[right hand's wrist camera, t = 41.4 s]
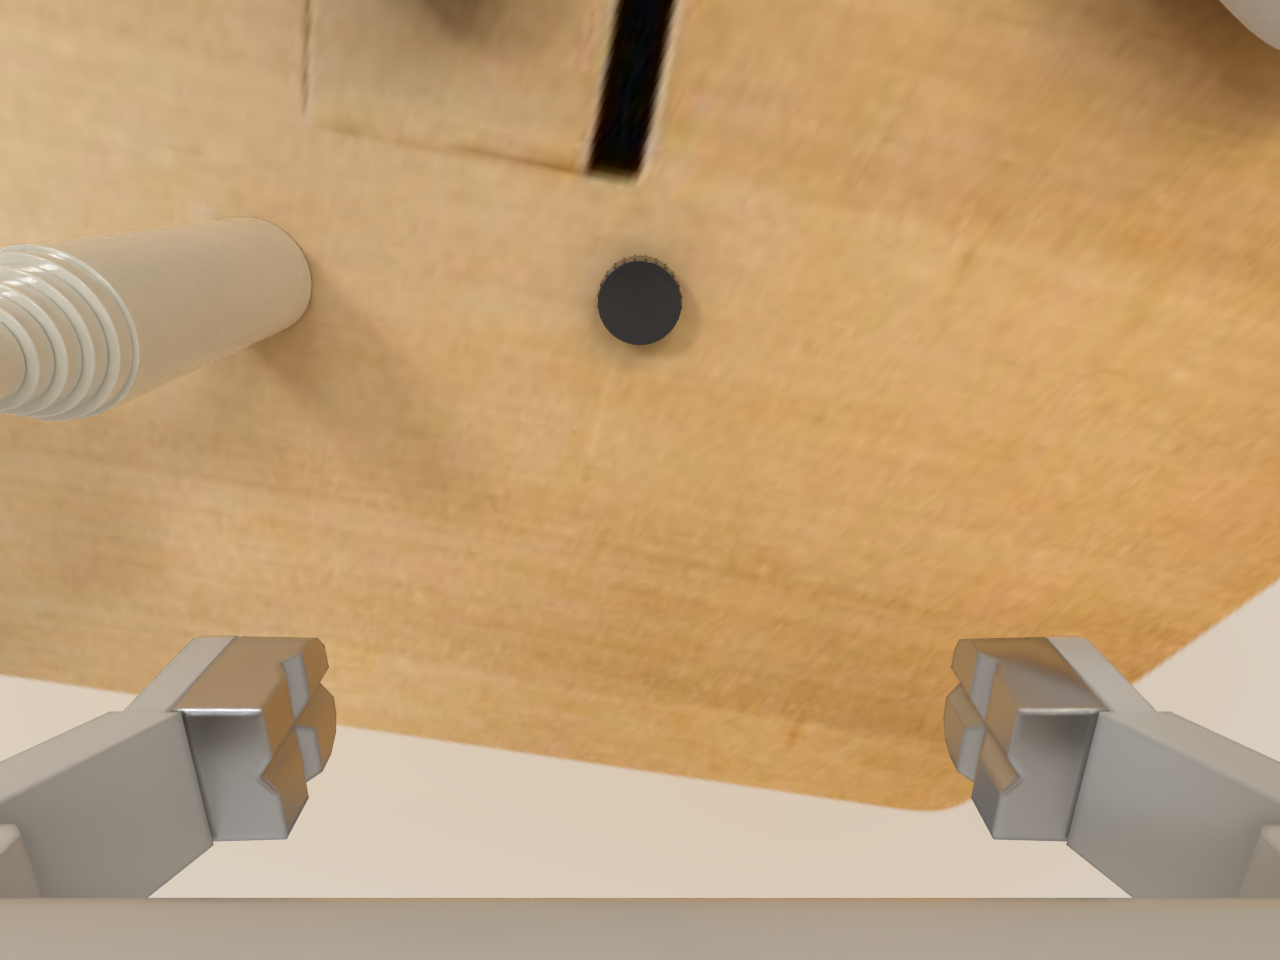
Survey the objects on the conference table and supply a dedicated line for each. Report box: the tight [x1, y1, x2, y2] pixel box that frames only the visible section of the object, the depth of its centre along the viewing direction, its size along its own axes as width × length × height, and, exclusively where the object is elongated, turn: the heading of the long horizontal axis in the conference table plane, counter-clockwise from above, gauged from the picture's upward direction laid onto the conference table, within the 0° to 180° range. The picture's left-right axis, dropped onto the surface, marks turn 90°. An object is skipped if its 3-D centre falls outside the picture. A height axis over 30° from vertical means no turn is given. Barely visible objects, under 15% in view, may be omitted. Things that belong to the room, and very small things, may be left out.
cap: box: [597, 255, 682, 345], centre depth 38 cm, size 4×4×2 cm
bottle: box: [0, 217, 312, 421], centre depth 29 cm, size 6×6×20 cm
